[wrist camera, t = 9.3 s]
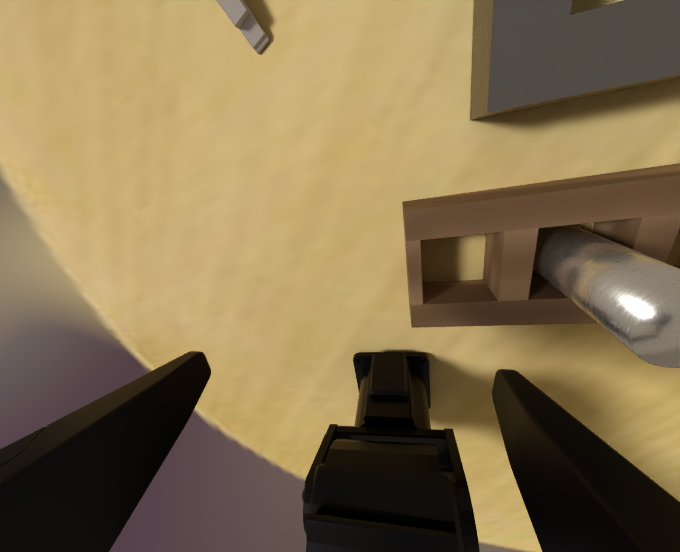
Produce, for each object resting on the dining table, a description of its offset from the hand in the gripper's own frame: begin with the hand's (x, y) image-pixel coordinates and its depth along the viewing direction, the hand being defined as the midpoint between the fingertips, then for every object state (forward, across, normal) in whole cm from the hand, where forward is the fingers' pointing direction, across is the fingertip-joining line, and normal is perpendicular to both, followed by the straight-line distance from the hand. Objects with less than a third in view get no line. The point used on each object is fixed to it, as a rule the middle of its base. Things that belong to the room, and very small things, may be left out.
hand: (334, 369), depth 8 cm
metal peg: (+12, -12, +1) cm, 17 cm away
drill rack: (+12, -12, +1) cm, 17 cm away
